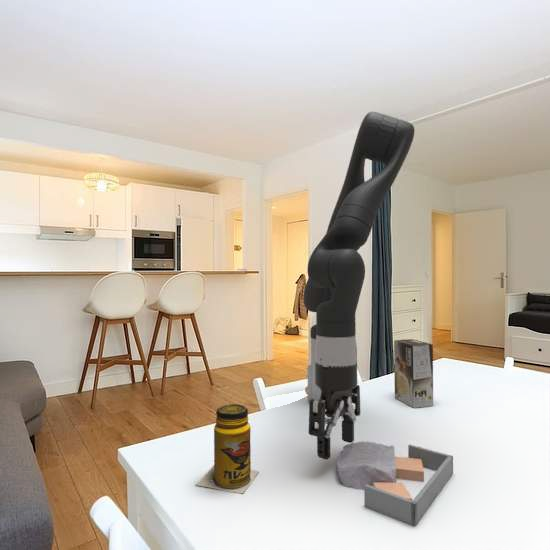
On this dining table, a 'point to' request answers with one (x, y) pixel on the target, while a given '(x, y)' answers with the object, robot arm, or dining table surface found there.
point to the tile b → (409, 469)
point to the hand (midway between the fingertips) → (336, 449)
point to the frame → (418, 506)
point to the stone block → (366, 464)
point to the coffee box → (413, 372)
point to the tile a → (393, 489)
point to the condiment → (230, 451)
